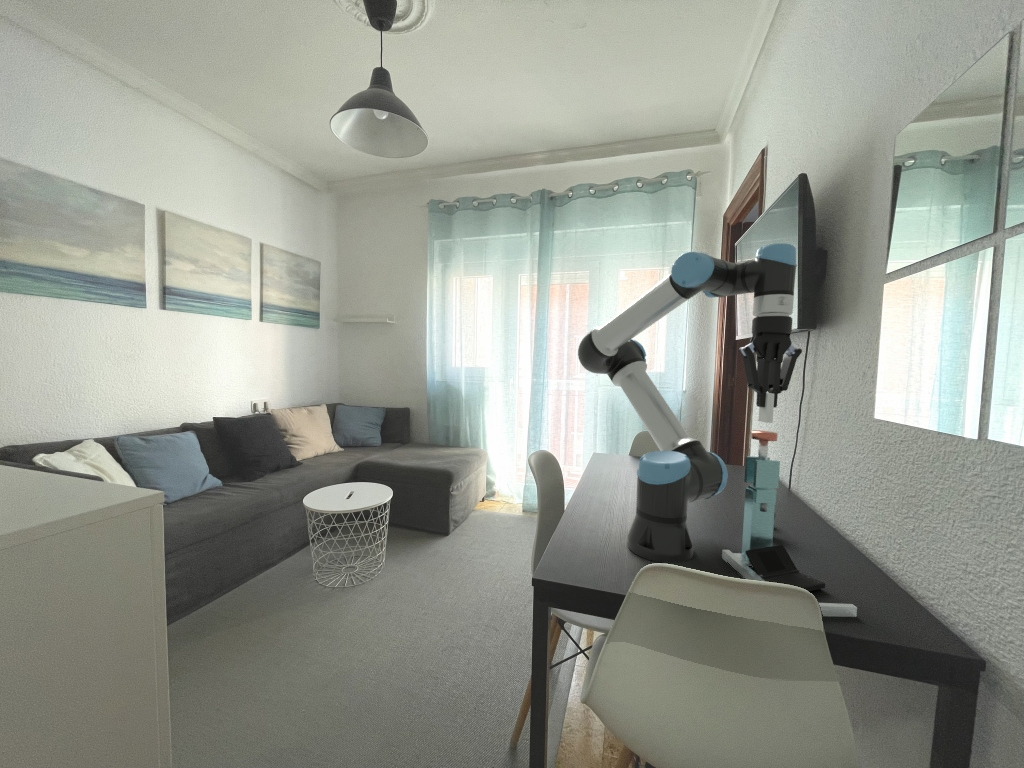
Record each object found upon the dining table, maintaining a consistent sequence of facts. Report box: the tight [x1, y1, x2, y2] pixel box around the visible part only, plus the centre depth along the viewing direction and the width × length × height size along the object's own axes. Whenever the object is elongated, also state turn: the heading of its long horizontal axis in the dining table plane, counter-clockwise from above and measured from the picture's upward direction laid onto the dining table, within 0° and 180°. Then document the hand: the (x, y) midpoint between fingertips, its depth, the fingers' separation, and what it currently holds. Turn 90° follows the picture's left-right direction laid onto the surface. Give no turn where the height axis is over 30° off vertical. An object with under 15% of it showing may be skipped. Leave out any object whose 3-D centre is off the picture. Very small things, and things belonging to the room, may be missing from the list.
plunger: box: [750, 429, 778, 460], centre depth 91 cm, size 5×5×8 cm
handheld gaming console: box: [745, 544, 826, 592], centre depth 83 cm, size 11×10×4 cm
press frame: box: [721, 455, 858, 618], centre depth 83 cm, size 13×22×24 cm, turn 179°
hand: (765, 421), depth 90 cm, fingers closed
